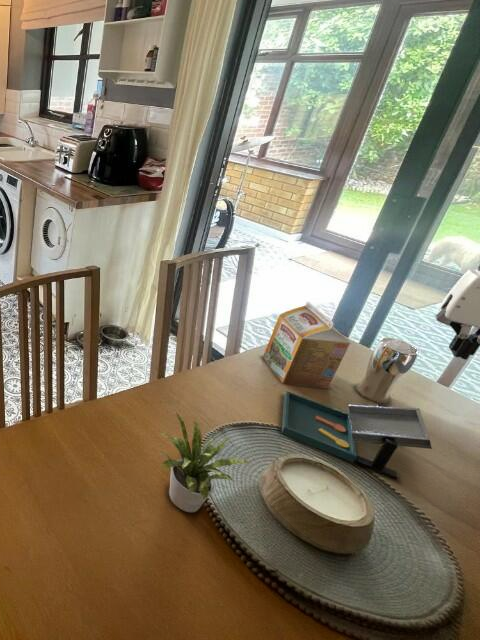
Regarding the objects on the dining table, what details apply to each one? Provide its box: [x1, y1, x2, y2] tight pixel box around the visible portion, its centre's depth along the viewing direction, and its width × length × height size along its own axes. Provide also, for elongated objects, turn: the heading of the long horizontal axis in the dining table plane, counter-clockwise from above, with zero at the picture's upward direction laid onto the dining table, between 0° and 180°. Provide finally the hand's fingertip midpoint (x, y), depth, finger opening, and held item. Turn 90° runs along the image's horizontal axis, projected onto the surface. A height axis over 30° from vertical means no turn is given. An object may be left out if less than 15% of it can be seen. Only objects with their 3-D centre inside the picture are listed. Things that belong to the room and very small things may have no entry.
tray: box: [281, 390, 358, 464], centre depth 92 cm, size 12×14×2 cm
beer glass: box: [356, 337, 420, 404], centre depth 99 cm, size 7×7×15 cm
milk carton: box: [262, 301, 351, 389], centre depth 106 cm, size 11×11×19 cm
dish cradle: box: [355, 402, 399, 481], centre depth 86 cm, size 6×14×8 cm, turn 143°
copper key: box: [315, 416, 346, 433], centre depth 93 cm, size 5×2×1 cm, turn 44°
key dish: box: [347, 404, 433, 450], centre depth 85 cm, size 11×10×2 cm
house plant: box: [155, 408, 251, 513], centre depth 74 cm, size 14×14×16 cm
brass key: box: [318, 428, 349, 448], centre depth 89 cm, size 5×2×1 cm, turn 29°
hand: (458, 354), depth 80 cm, fingers closed
